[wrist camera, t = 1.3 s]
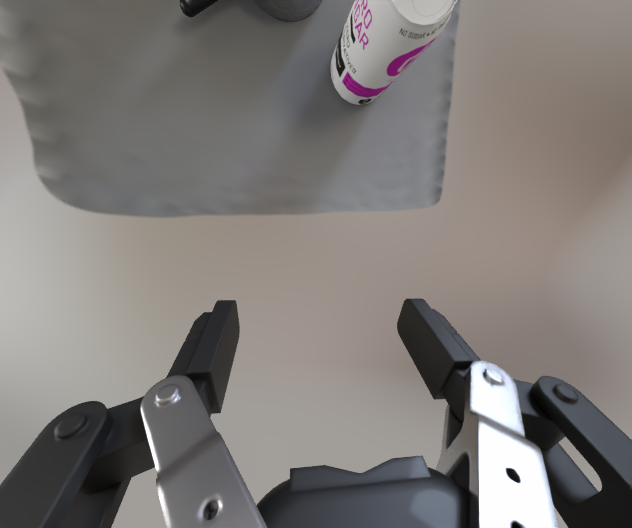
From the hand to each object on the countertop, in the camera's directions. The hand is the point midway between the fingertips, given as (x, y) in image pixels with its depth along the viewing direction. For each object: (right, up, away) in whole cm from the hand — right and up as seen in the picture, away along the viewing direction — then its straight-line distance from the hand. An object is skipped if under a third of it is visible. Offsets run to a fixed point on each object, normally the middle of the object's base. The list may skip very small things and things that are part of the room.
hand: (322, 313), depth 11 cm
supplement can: (+5, +29, +22) cm, 37 cm away
